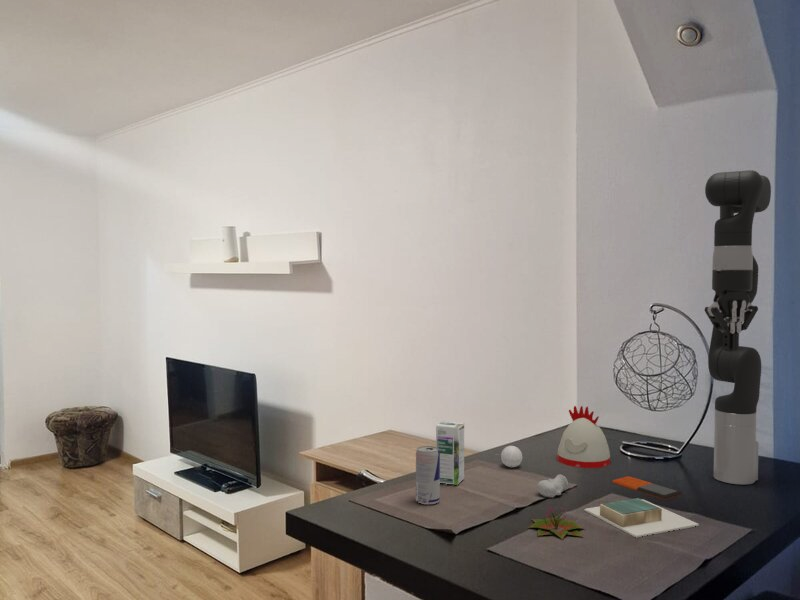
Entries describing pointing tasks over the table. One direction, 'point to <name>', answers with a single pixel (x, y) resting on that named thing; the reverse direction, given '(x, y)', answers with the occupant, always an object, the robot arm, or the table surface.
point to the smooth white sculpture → (552, 486)
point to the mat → (650, 523)
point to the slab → (630, 512)
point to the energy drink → (428, 474)
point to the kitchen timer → (583, 442)
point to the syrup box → (451, 451)
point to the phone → (647, 487)
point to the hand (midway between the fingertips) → (730, 351)
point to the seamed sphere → (511, 456)
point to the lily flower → (556, 525)
